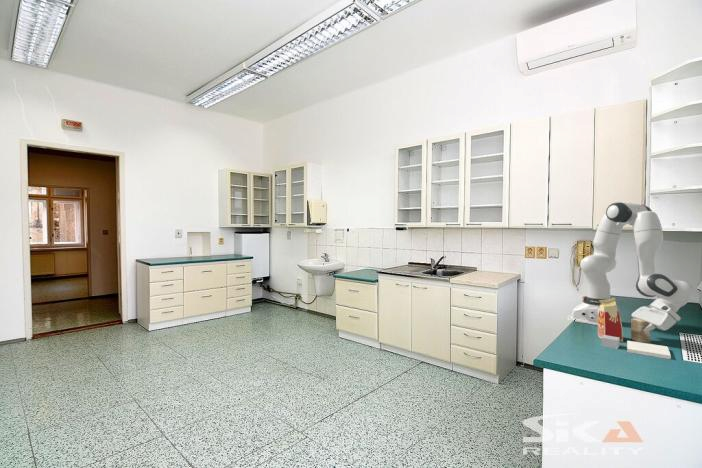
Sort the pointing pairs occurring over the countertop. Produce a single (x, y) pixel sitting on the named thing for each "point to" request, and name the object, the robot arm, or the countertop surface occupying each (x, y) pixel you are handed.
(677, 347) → the countertop surface
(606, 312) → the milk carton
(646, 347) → the off-white board
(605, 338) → the grey plastic box
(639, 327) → the maple block
